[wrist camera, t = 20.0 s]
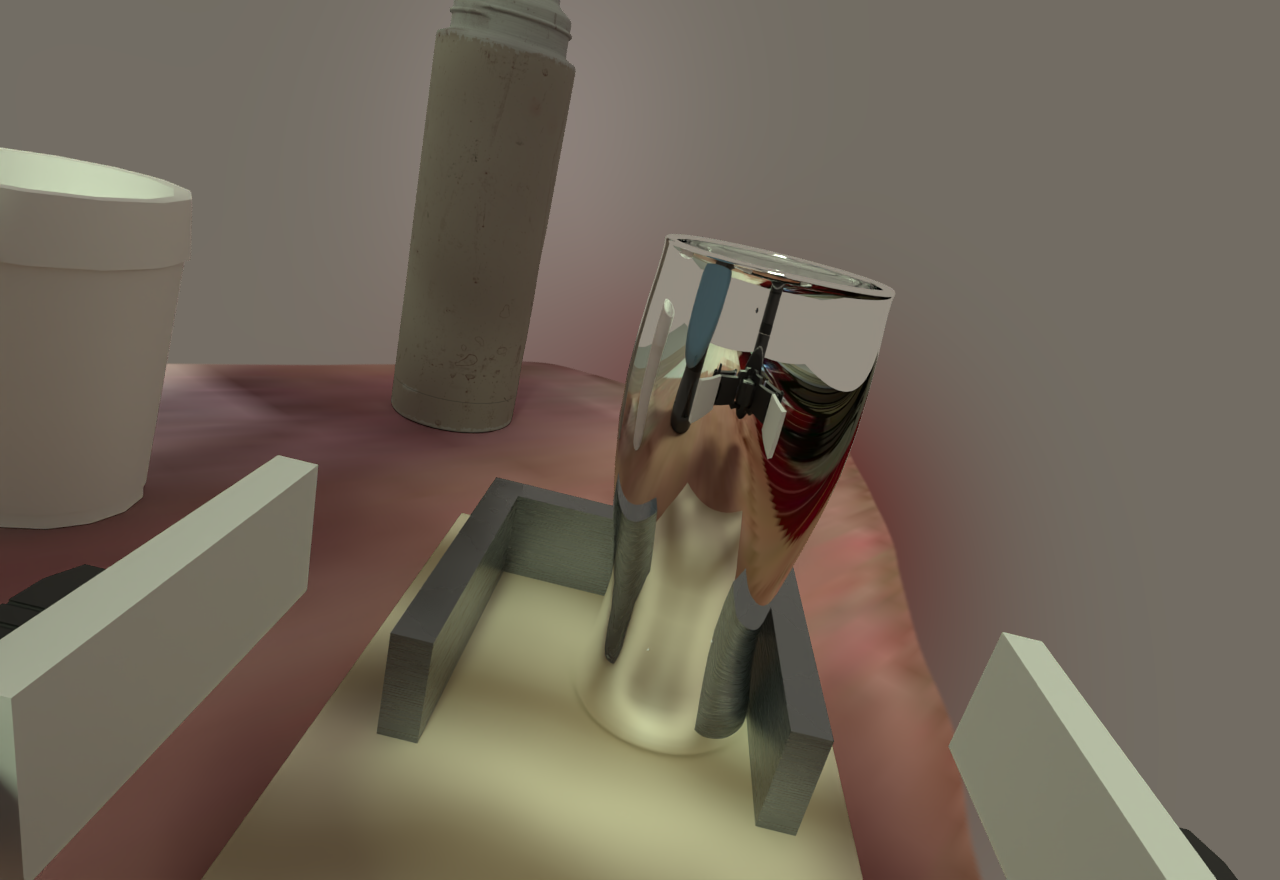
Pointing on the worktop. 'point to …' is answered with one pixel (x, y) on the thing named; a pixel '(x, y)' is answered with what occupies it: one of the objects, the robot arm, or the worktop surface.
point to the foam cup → (83, 333)
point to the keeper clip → (580, 559)
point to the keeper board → (517, 777)
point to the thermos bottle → (481, 210)
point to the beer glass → (720, 478)
